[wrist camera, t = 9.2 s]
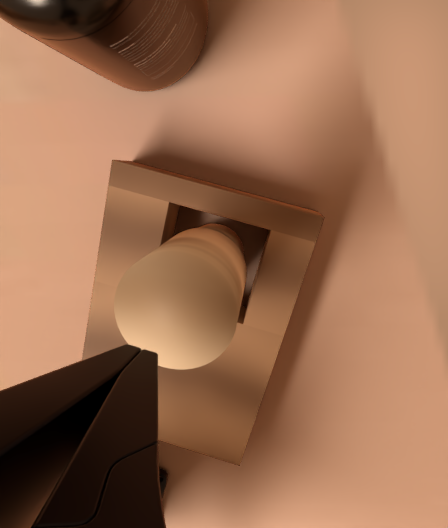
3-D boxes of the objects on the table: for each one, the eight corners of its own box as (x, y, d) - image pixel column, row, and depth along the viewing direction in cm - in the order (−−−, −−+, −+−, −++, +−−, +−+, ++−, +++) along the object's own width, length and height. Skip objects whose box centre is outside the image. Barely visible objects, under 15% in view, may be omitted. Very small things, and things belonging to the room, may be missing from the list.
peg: (240, 296, 21) (219, 384, 12) (171, 276, 21) (105, 349, 13) (259, 228, 20) (252, 272, 11) (187, 208, 20) (124, 236, 11)
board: (242, 436, 24) (239, 465, 21) (93, 389, 24) (73, 413, 22) (317, 211, 19) (324, 217, 17) (131, 161, 20) (112, 159, 17)
